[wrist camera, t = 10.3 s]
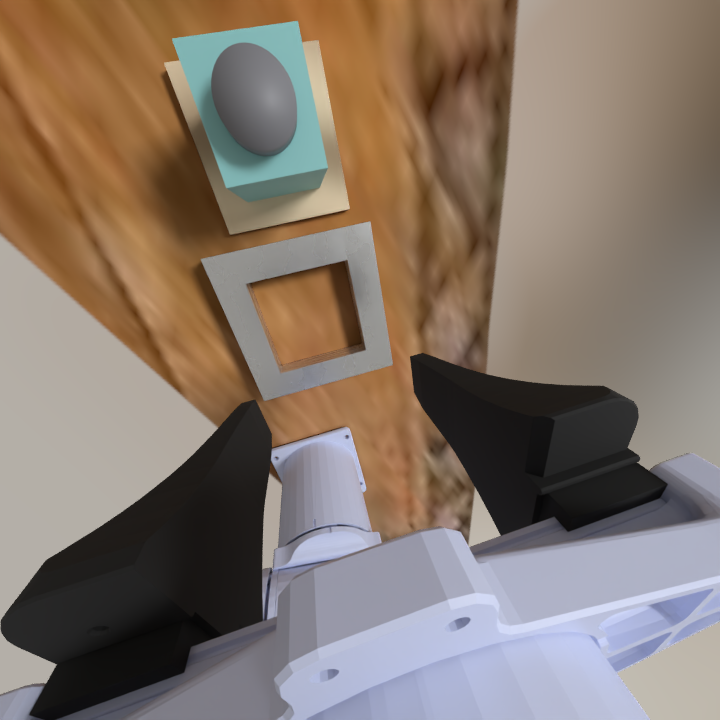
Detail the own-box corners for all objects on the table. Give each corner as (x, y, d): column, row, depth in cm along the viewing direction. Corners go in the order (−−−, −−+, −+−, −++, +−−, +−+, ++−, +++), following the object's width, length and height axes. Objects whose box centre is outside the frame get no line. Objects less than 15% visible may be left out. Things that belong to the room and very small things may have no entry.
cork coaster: (348, 209, 18) (349, 208, 18) (231, 234, 17) (230, 234, 17) (317, 46, 15) (318, 40, 14) (168, 68, 14) (163, 62, 13)
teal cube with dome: (319, 187, 17) (330, 162, 11) (247, 202, 16) (220, 183, 11) (298, 92, 15) (297, -1, 9) (215, 105, 14) (158, 18, 9)
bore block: (387, 357, 24) (392, 364, 22) (266, 391, 23) (264, 401, 21) (365, 222, 19) (370, 221, 17) (208, 257, 18) (200, 259, 16)
